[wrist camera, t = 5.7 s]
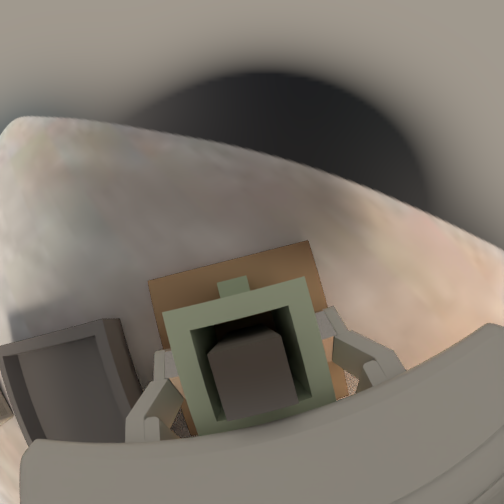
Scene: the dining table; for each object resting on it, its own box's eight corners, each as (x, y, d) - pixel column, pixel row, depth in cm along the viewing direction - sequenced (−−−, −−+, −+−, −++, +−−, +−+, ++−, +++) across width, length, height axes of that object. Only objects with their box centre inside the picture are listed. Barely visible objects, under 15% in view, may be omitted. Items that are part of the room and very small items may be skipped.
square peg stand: (343, 390, 16) (430, 451, 6) (193, 429, 15) (149, 524, 6) (304, 244, 18) (365, 170, 8) (152, 282, 17) (61, 248, 8)
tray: (176, 468, 15) (167, 485, 12) (61, 469, 14) (46, 480, 11) (119, 318, 17) (102, 318, 14) (14, 345, 16) (-6, 347, 13)
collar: (301, 372, 16) (338, 409, 9) (218, 393, 15) (201, 444, 8) (274, 271, 17) (294, 242, 10) (191, 292, 16) (154, 278, 9)
